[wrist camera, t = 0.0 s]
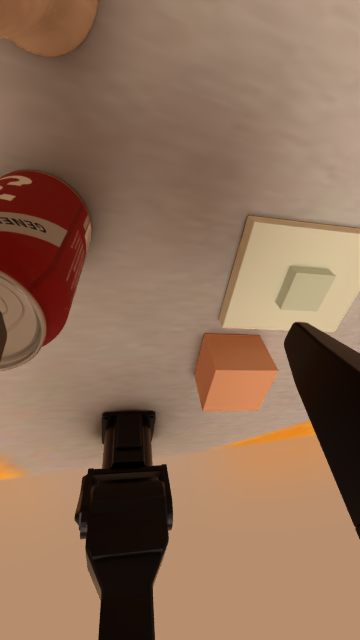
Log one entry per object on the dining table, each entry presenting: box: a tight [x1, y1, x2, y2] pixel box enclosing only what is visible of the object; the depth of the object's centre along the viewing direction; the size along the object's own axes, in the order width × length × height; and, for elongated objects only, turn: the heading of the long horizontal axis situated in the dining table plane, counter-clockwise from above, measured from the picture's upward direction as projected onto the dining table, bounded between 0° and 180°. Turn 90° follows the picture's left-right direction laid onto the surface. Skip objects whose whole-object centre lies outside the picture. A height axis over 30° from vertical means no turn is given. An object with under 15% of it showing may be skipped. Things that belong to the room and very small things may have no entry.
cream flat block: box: [219, 215, 360, 332], centre depth 25 cm, size 10×12×3 cm
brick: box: [194, 334, 278, 411], centre depth 29 cm, size 6×6×5 cm
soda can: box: [0, 170, 92, 371], centre depth 16 cm, size 7×7×12 cm
